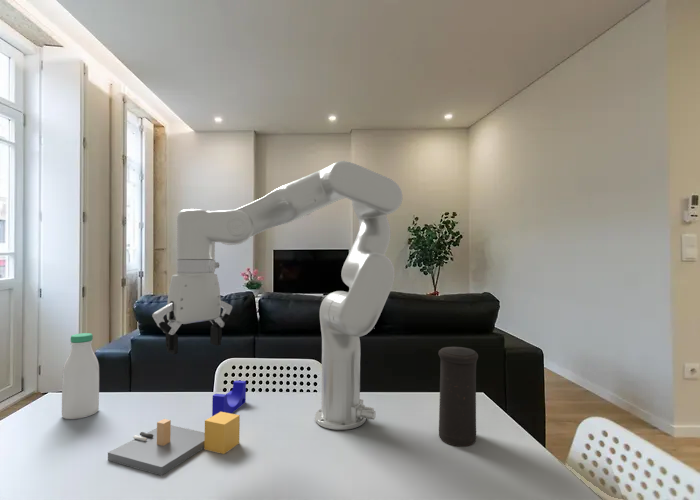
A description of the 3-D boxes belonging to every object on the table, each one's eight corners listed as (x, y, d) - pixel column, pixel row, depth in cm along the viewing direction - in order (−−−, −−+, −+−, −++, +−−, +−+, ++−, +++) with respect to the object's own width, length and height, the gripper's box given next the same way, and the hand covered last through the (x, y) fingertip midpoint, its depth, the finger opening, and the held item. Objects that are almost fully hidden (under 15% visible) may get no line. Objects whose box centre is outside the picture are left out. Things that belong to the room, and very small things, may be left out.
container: (480, 433, 90) (480, 346, 90) (474, 451, 82) (475, 355, 82) (442, 426, 93) (442, 342, 94) (433, 442, 85) (434, 350, 86)
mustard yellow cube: (239, 443, 84) (239, 415, 84) (223, 454, 80) (224, 424, 80) (220, 438, 86) (220, 411, 86) (204, 449, 81) (204, 420, 81)
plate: (214, 441, 85) (214, 413, 85) (161, 475, 72) (162, 442, 72) (163, 430, 90) (163, 404, 90) (106, 459, 77) (106, 429, 77)
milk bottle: (104, 412, 100) (105, 333, 100) (70, 422, 93) (71, 339, 94) (89, 405, 104) (91, 330, 104) (55, 415, 98) (57, 335, 98)
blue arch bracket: (230, 401, 108) (230, 380, 108) (245, 403, 107) (245, 381, 107) (206, 419, 96) (207, 395, 97) (223, 421, 96) (223, 396, 96)
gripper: (222, 266, 92) (221, 339, 92) (145, 268, 79) (144, 353, 78) (241, 267, 87) (240, 344, 87) (162, 269, 74) (161, 360, 74)
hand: (194, 348), depth 83 cm, fingers open, 9 cm apart
